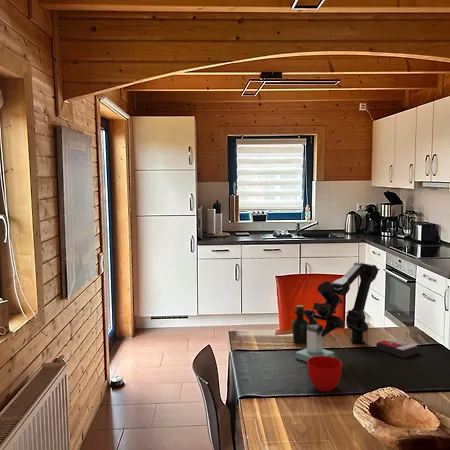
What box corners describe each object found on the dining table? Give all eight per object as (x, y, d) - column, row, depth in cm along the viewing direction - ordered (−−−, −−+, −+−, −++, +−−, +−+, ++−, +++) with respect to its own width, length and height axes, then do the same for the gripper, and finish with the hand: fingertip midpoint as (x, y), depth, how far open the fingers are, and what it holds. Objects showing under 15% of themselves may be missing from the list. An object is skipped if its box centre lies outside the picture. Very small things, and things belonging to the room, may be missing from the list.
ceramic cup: (344, 379, 188) (344, 354, 187) (340, 397, 172) (340, 370, 171) (311, 375, 192) (311, 351, 191) (304, 392, 176) (304, 366, 175)
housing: (314, 349, 213) (313, 323, 212) (323, 352, 209) (322, 325, 208) (307, 352, 210) (306, 325, 208) (316, 355, 206) (315, 328, 205)
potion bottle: (311, 340, 234) (311, 305, 232) (304, 345, 227) (304, 308, 225) (295, 338, 238) (295, 303, 237) (289, 342, 231) (289, 306, 230)
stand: (312, 352, 218) (312, 345, 218) (334, 358, 209) (334, 352, 209) (295, 358, 210) (295, 352, 210) (317, 366, 201) (317, 359, 201)
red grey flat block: (391, 337, 227) (418, 344, 214) (391, 346, 227) (418, 353, 214) (375, 341, 221) (403, 349, 208) (376, 350, 221) (403, 358, 209)
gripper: (306, 292, 218) (290, 320, 211) (340, 299, 204) (324, 329, 197) (316, 305, 224) (301, 333, 217) (350, 313, 210) (335, 343, 203)
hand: (315, 334), depth 209 cm, fingers open, 7 cm apart
